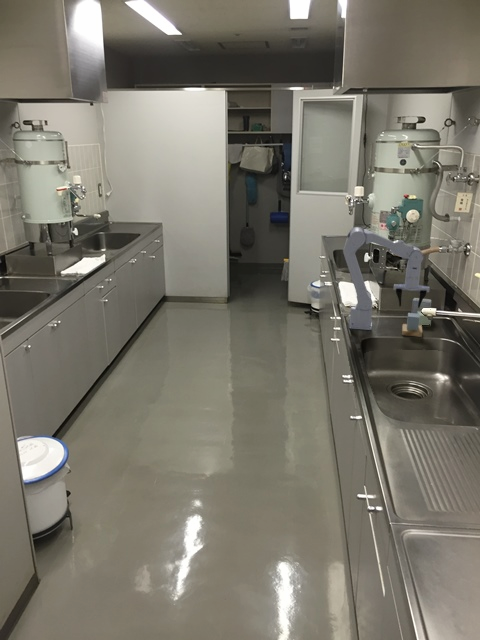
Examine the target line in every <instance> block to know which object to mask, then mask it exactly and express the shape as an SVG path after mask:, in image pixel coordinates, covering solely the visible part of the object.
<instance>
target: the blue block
mask: <svg viewBox="0 0 480 640" xmlns="http://www.w3.org/2000/svg"><path fill="white" fill-rule="evenodd" d="M406 320H407V321H406V324H407V330H417V331H418V325H419V314H416V313H411V312H408V313H407V318H406Z"/></svg>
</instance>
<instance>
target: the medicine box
mask: <svg viewBox="0 0 480 640" xmlns="http://www.w3.org/2000/svg"><path fill="white" fill-rule="evenodd" d="M418 302H419V297H414V298H413V299H412V305H411V312H410V313H416V314H417V311H421V309H422V308H431V307H432V299H428V298H424V299H423V300H422V302H421V305H420V308H418Z"/></svg>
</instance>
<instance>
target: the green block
mask: <svg viewBox="0 0 480 640" xmlns="http://www.w3.org/2000/svg"><path fill="white" fill-rule="evenodd" d="M417 314H419V325H429V324H430V325H431V324H432V319H431V320H428V318H427V317H425V316H424V315H423V314H422V313H421V311H417Z"/></svg>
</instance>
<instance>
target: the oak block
mask: <svg viewBox="0 0 480 640" xmlns="http://www.w3.org/2000/svg"><path fill="white" fill-rule="evenodd" d="M401 335H402V336H408V337H419V338H420V337H421V338H422V337H423V326H422V325H418V331H417V330H407V323H403V324H402V327H401Z"/></svg>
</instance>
